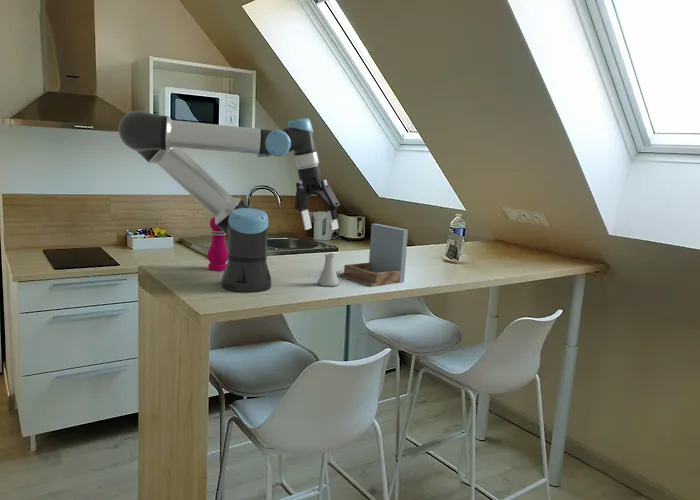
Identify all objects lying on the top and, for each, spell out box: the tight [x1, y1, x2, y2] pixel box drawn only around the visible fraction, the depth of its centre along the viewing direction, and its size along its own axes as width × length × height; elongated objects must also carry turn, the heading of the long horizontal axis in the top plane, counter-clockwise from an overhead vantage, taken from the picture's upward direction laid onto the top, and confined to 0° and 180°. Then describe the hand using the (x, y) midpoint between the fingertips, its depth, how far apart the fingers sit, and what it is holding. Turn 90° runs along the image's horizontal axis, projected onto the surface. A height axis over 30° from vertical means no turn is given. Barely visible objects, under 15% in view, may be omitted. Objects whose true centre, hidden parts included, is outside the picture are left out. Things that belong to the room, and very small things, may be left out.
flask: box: [316, 253, 340, 287], centre depth 188 cm, size 7×7×10 cm
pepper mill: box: [206, 216, 228, 272], centre depth 199 cm, size 7×7×20 cm
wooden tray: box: [340, 262, 401, 288], centre depth 199 cm, size 13×16×4 cm
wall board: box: [368, 223, 409, 284], centre depth 203 cm, size 2×16×18 cm, turn 41°
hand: (321, 229), depth 195 cm, fingers open, 13 cm apart
